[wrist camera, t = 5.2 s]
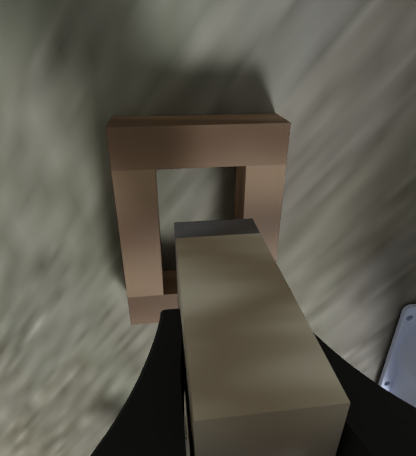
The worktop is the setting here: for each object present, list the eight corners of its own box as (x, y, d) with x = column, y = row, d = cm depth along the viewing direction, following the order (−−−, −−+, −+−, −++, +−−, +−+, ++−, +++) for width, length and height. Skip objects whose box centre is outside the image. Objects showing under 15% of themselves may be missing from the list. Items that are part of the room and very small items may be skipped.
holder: (260, 288, 24) (270, 312, 22) (133, 298, 23) (131, 324, 21) (275, 113, 19) (290, 122, 17) (111, 116, 18) (105, 127, 16)
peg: (252, 218, 14) (350, 402, 7) (244, 334, 17) (308, 549, 10) (174, 222, 14) (194, 420, 7) (179, 340, 16) (197, 567, 9)
